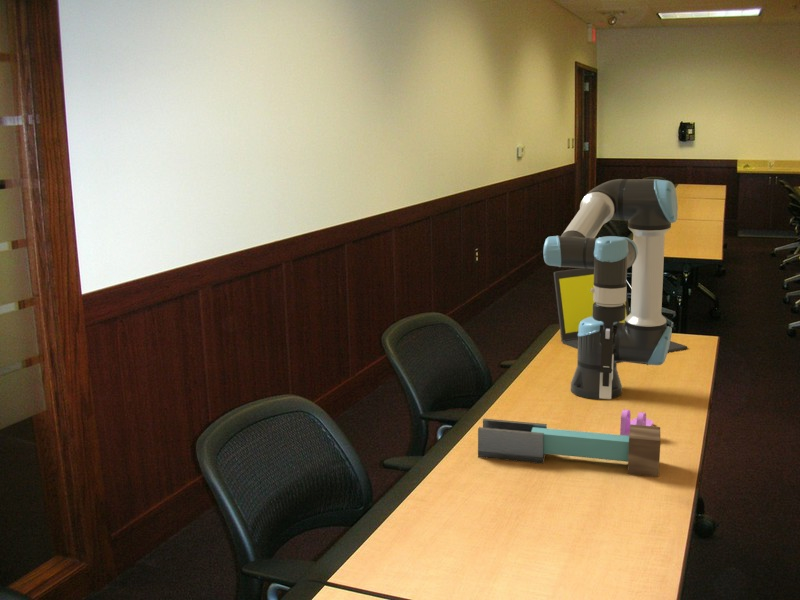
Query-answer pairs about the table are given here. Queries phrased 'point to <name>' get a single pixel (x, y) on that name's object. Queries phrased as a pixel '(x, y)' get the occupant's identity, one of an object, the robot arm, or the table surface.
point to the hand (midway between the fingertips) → (606, 388)
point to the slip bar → (585, 444)
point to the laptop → (581, 304)
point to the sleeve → (511, 441)
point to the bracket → (637, 421)
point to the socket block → (644, 450)
